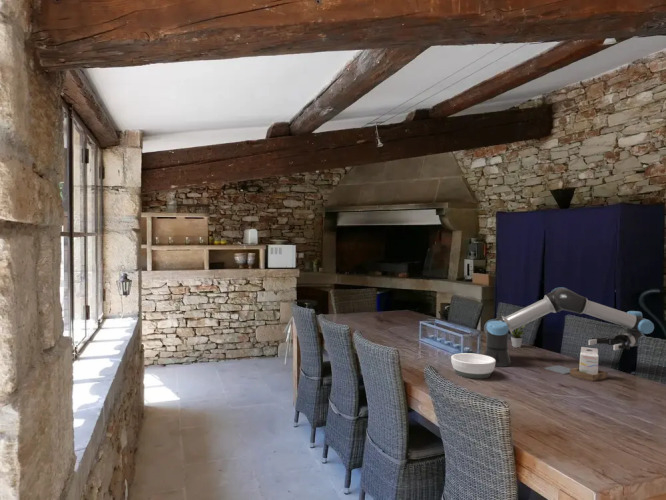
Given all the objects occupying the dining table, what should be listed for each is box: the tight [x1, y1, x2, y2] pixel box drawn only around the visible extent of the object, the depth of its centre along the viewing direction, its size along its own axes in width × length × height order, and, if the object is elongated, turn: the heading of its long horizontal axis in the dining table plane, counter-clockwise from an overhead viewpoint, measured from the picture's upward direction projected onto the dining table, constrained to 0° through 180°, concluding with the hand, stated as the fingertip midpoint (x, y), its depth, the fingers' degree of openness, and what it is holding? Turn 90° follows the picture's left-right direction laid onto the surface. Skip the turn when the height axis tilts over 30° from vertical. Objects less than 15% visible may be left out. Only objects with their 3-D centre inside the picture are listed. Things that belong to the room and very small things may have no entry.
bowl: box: [450, 352, 496, 380], centre depth 257 cm, size 22×22×8 cm
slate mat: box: [543, 364, 571, 375], centre depth 267 cm, size 12×12×1 cm
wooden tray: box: [569, 367, 608, 382], centre depth 255 cm, size 12×12×3 cm
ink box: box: [578, 346, 600, 375], centre depth 255 cm, size 9×5×15 cm, turn 62°
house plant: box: [510, 324, 526, 348], centre depth 323 cm, size 14×14×16 cm
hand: (601, 345), depth 260 cm, fingers open, 13 cm apart
